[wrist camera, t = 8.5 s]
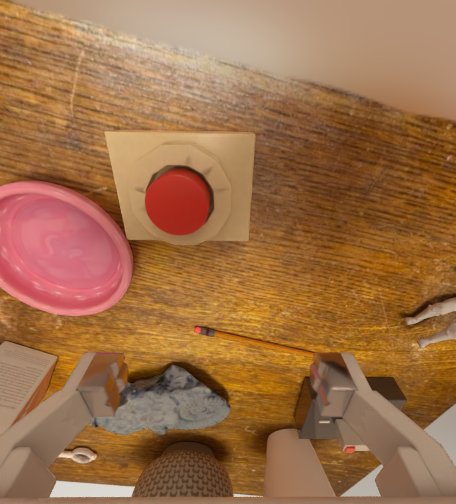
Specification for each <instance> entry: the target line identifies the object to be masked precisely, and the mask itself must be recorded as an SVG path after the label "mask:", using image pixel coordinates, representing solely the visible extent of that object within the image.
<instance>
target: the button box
mask: <svg viewBox="0 0 456 504" xmlns="http://www.w3.org/2000/svg"><path fill="white" fill-rule="evenodd" d="M104 133H105V138H106V143H107V148H108V152H109V157H110V162H111V166H112V171H113V176H114V181H115V185H116V190H117V195H118V199H119V204H120V209H121V214H122V218H123V223H124V228H125V232H126V237H127V240H163V241H165V242H167V243H169V244H172V245H198V244H200V243H202V242H204V241H249V228H250V213H251V198H252V183H253V167H254V152H255V137H256V135H255V134H254V133H253V132H229V131H171V130H111V131H105V132H104ZM172 169H184V170H188V171H191V172H193V173H195V174H196V175H198V176H199V177H200V178H201V179H202V180H203V181H204V183H205V184H206V186H207V188H208V190H209V194H210V207H209V212H208V216H207V219H206V221H205V223H204V224H203V225H202V227H201V228H199V229H198V230H197V231H195V232H193V233H191V234H188V235H172V234H169V233H166V232H164V231H162V230H160V229H159V228H158V227H157V226H155V225H154V223H153V222H152V221H151V220H150V218H149V216H148V214H147V211H146V208H145V196H146V192H147V190H148V188H149V186H150V185H151V184H152V183H153V182H154V181H155V180H156V179H157V178H158V177H159V176H160V175H161V174H163V173H164V172H166V171H169V170H172Z"/></svg>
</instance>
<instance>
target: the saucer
mask: <svg viewBox="0 0 456 504" xmlns="http://www.w3.org/2000/svg"><path fill="white" fill-rule="evenodd" d="M133 269H134V263H133V255H132V251H131V248H130V245H129V243H128V241H127V239H126V237H125V235H124V233H123V232H122V230H121V229H120V227H119V226H118V225H117V223H116V222H115V221H114V220H113V219H112V217H111V216H110V215H109V214H108V213H107V212H105V211H104V210H103V209H102V208H101V207H100V206H98V205H97V204H96V203H94V202H93V201H92V200H90V199H89V198H87V197H85V196H83V195H82V194H80V193H78V192H76V191H74V190H71V189H69V188H66V187H63V186H61V185H57V184H53V183H49V182H43V181H18V182H13V183H9V184H5V185H2V186H0V287H1V288H2V289H4V290H5V291H6V292H8V293H9V294H10V295H12V296H14V297H15V298H17V299H19V300H20V301H22V302H24V303H26V304H28V305H30V306H33V307H35V308H37V309H40V310H43V311H46V312H50V313H55V314H59V315H67V316H84V315H90V314H95V313H99V312H102V311H104V310H106V309H108V308H110V307H112V306H113V305H114V304H116V303H117V302H118V301H119V300H120V299H121V298H122V297H123V295H124V294H125V292H126V291H127V289H128V287H129V285H130V283H131V280H132V276H133Z"/></svg>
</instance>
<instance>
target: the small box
mask: <svg viewBox="0 0 456 504" xmlns="http://www.w3.org/2000/svg"><path fill="white" fill-rule="evenodd" d="M57 359H58V356H55V355H51V354H48V353H45V352H41V351H38V350H35V349H31V348H28V347H25V346H22V345H18V344H15V343H11V342H8V341H4V342H3V343H2V344H1V345H0V435H1V434H2V433H3V432H5V431H6V430H7V429H8V428H10V427H11V426H12V425H14V424H15V423H16V422H18V421H19V420H20V419H21V418H23V417H24V416H25V415H27V414H28V413H29V412H30V411H32V410H33V409H34V408H36V407H37V406H38V404H39V403H40V401H41V400H42V398H43V397H44V395H45V393H46V392H47V390H48V386H49V383H50V379H51V376H52V373H53V370H54V368H55V365H56V362H57Z"/></svg>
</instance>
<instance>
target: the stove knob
mask: <svg viewBox="0 0 456 504" xmlns="http://www.w3.org/2000/svg"><path fill="white" fill-rule="evenodd" d="M334 427H335V430H336V433H337V436H338V439H339V441H340V444H341V447H342V450H343V451H345V453H353V452H354V451H370V450H369V449H368V448H367V446H366V445H365V444H364V443H363V442H362V440H361V439H360V438H359V437H358V436H357V435H356V433H355V432H354V431H353V430H352V429H351V428H350V426H349V425H348V424H347V423H346V422H345V421H344V419H336V420H335V422H334Z"/></svg>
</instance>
